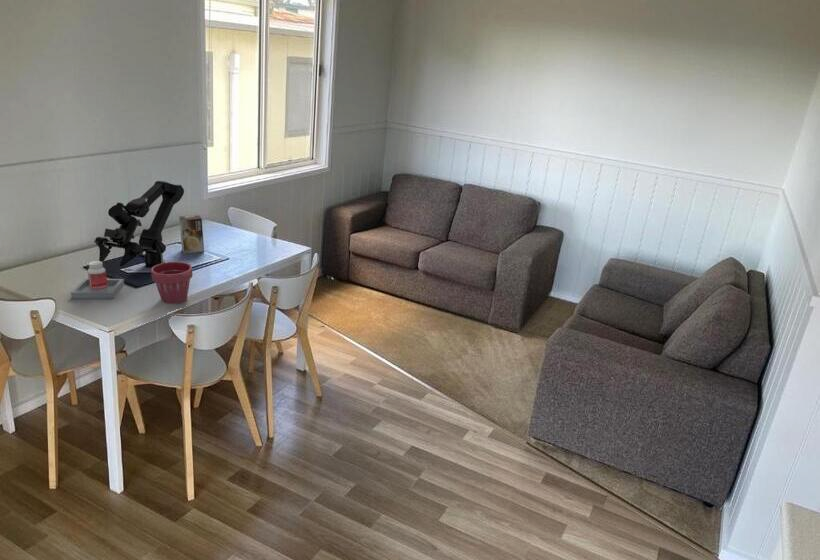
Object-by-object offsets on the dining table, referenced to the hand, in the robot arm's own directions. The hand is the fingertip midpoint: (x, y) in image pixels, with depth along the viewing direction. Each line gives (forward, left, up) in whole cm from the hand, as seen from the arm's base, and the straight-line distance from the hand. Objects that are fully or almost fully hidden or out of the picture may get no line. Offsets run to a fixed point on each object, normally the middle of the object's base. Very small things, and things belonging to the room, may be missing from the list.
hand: (110, 264), depth 240 cm
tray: (+3, +7, -8) cm, 11 cm away
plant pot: (-26, +14, -9) cm, 31 cm away
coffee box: (-22, -44, -9) cm, 50 cm away
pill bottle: (+3, +7, -8) cm, 11 cm away
